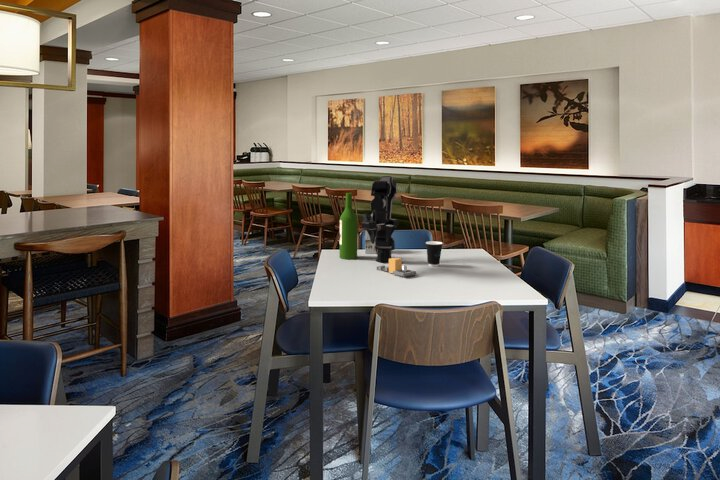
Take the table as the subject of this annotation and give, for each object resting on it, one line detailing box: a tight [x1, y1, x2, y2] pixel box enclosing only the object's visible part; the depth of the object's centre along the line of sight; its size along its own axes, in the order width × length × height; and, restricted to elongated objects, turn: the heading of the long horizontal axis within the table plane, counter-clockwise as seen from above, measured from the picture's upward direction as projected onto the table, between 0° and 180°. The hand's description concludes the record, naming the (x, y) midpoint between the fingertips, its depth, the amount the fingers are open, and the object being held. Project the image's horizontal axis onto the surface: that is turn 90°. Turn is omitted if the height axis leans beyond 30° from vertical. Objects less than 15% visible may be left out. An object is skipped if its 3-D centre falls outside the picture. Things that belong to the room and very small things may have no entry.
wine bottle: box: [338, 192, 359, 260], centre depth 258 cm, size 9×9×32 cm
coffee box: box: [364, 226, 380, 255], centre depth 276 cm, size 9×6×16 cm
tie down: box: [376, 257, 417, 276], centre depth 228 cm, size 20×7×6 cm, turn 41°
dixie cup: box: [425, 240, 444, 268], centre depth 244 cm, size 8×8×11 cm
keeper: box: [394, 264, 415, 279], centre depth 223 cm, size 6×6×5 cm
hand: (380, 242), depth 236 cm, fingers open, 9 cm apart
